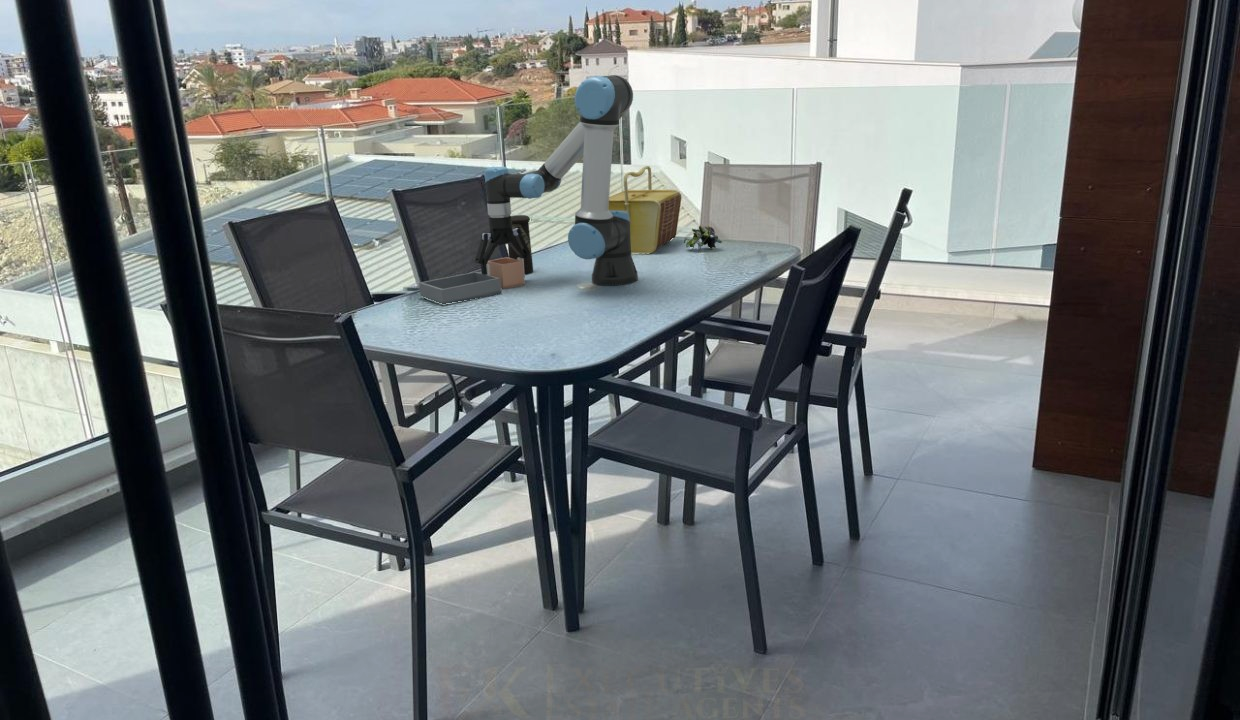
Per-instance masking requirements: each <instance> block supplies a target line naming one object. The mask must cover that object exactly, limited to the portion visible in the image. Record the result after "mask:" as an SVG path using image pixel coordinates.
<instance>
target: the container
mask: <svg viewBox="0 0 1240 720" xmlns="http://www.w3.org/2000/svg"><path fill="white" fill-rule="evenodd" d="M510 216H511V217H512V230H513V229H514V228H519V229H521V235H522V237H523V239H524V241H525V243H526V245H527V247H528V249H529V251H530V255H528V256H527V258H525V260H526V267H524V272H525V275H527V274H528V273H529V274H531V273H533V272H534V263H533V253H532V245H531V236H530V235H531V234H530V225H529V224H530V223H529V222H530V221H531V217H530V216H528V215H526V214H516V215H510ZM511 238H512V239H513V240H514V241H515V243H516V244H517V245H518V247H519V248H520V249H521V247H520V245H519V243H518V241H517V239H516V237H515V235H514V234H513V235H512V237H511ZM507 247H508V248H507V249H508V258H512V259H516V260H517V258H520V257H519V255H518V254H517V253H516V252H515V251H514V250H513V248H512V247H511V246H510V245H509V244H507ZM521 250H522V249H521Z"/></svg>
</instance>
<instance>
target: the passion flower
mask: <svg viewBox="0 0 1240 720" xmlns="http://www.w3.org/2000/svg"><path fill="white" fill-rule="evenodd" d="M691 231H692V232H693V235H692V238H690V239H689V238H687V237H685V238H684V240H683V243H684V244H686V245H685V247H686V248H688V247H689V248H690V247H693V248H692V249H694V247H695V245H696V244H697V251H698V252H699V251H700V249H701V248H702V247H703V246H706V245H707V247H710V248H713V249H717V248H716V247H717V246H716V243H717V244H722V242H723V241H722V240H720V238H719V236H718V235H716V231H715V229H714V228H713V227H712V226H709V225H707V226H704V227H703V226H702V225H699V226H698V228H697V229H696V228H693V227H692V229H691ZM687 240H688V241H687ZM700 240H701V241H700ZM686 241H687V242H686Z"/></svg>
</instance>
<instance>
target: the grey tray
mask: <svg viewBox="0 0 1240 720" xmlns="http://www.w3.org/2000/svg"><path fill="white" fill-rule="evenodd" d="M418 284H419V285H418V286H419V292H420V293H419V294H420V295H419V296H420V297H421V296H423V297H426V298H428V299H431V300H434V301H436V302H439V303H442V304H446V303H452V302H458V301H464V300H469V301H471V300H470V299H474V300H476V299H475V298H478V299H481V298H480V297H483V298H487V297H486V296H488V297H491V295H492V296H495V295H496V294H497V295H501V293H502V289H501V281H500V278H498V277H494V276H490V275H487V274H482V272H480V271H479V272H478V271H473V272H467V273H461V274H456V275H453V276H452V275H451V276H447V277H440V278H436V279H435V278H434V279H430V280H426V281H421V282H420V281H419V282H418ZM502 294H503V293H502ZM497 295H496V296H497ZM464 302H465V301H464Z"/></svg>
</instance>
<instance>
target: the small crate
mask: <svg viewBox="0 0 1240 720" xmlns="http://www.w3.org/2000/svg"><path fill="white" fill-rule="evenodd" d="M487 264H489V269H490V276H494V277H498V278H500V281H501V288H502V289H503V290H507V289H510V288H516V287H521V285H522V286H525V285H526V284H525V282H526V281H525V278H524V270H523V261H521V260H516V259H512V258H509V256H508V257H507V256H506V257H501V258H495V259H491V260H490V259H489V261H488V262H487ZM502 289H501V290H502Z"/></svg>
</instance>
